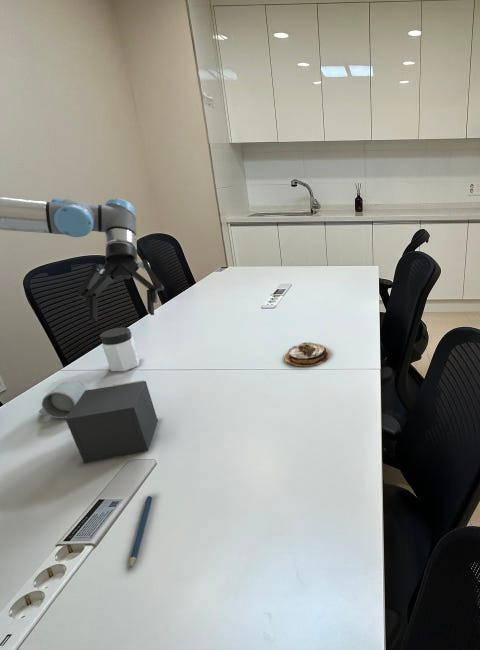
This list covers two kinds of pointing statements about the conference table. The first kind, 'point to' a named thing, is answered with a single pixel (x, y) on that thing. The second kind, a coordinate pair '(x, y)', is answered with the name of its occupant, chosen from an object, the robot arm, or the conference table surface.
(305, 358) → the layered cake
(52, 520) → the conference table surface
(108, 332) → the jar
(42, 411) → the ceramic mug
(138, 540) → the pencil
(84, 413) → the dark grey cube
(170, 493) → the conference table surface
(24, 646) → the conference table surface
